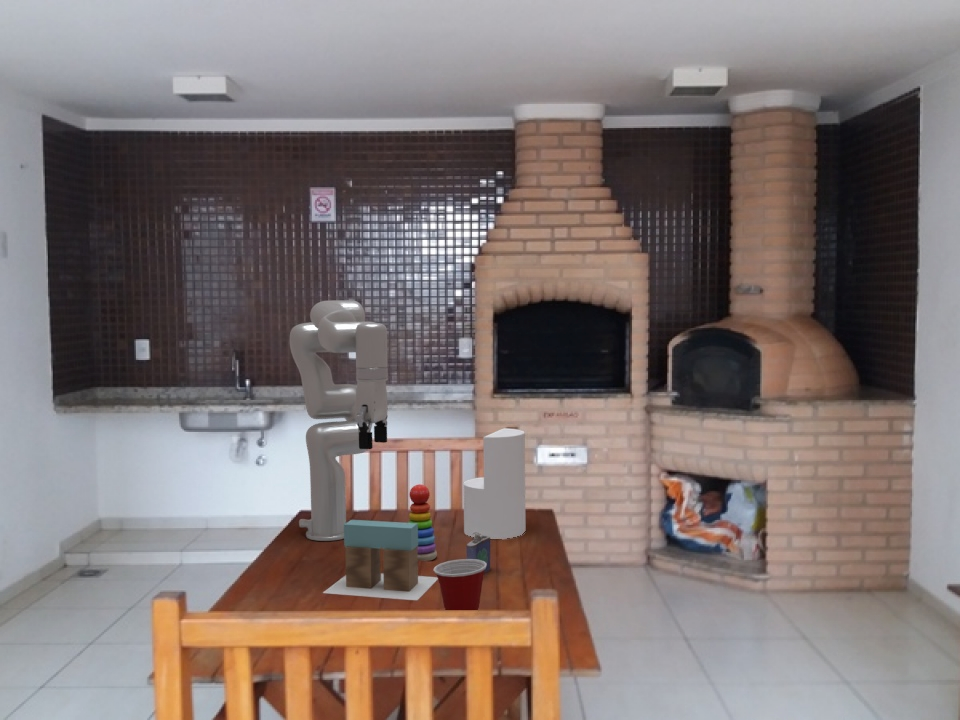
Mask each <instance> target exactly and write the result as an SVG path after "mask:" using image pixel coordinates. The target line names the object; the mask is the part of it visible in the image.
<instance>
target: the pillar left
mask: <svg viewBox="0 0 960 720" xmlns="http://www.w3.org/2000/svg"><path fill="white" fill-rule="evenodd" d="M344 547H345V548H344V549H345V575H346V587H355V588H368V589H371V588H373V587H374V586H375V585H376V584H377V583H378V582H380V581H381V572H382V571H381V566H382V565H381V549H378V548H363V547H347V546H344Z"/></svg>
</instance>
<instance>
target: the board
mask: <svg viewBox="0 0 960 720" xmlns="http://www.w3.org/2000/svg"><path fill="white" fill-rule="evenodd" d="M436 581H438V578H437V576H436V577H435V576H423V575H418V584H417V585H416V586H415V587H414V588H413V589H412V590H411V591H410V592H407V591H394V590H384V573H383V572H382V573H381V581H380V582H378V583H377V584H376V585H375V586H374V587H373V588H371V589H368V588H355V587H346V574H345V575H343V576H342V577H341V578H340V579H339V580H338V581H336V582H335V583H334V584H332V585H331V586H330V587H329V588H327V589H326V590H324V591H323V592H322V594H328V595H330V594H331V595H339V596H340V595H343V596H356V597H365V598H366V597H369V598H380V599H381V598H382V599H394V600H404V601H405V600H406V601H407V600H408V601H419V600H420V598H421V597H422V596H423V595H424V594H425V593H426V592H427V591H428V590H429V589H430V588H431V587H432V586H433V585H434V584H435V583H436Z"/></svg>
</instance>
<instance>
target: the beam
mask: <svg viewBox="0 0 960 720" xmlns="http://www.w3.org/2000/svg"><path fill="white" fill-rule="evenodd" d="M343 546H344V547H363V548H378V549H380V550H381V549H382V550H384V549H394V550H409V551H412V550H413V549H414V548H415V547H417V546H418V523H409V522H398V521H397V522H396V521H381V520H365V519H364V520H363V519H362V520H361V519H350V520H349V521H346V523H345V524H344V539H343Z"/></svg>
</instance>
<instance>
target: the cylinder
mask: <svg viewBox="0 0 960 720" xmlns="http://www.w3.org/2000/svg"><path fill="white" fill-rule="evenodd" d="M482 438H483V439H482V442H483V443H482V444H483V445H482V447H483V455H482V456H483V477H474V478H470V479H467V480H465V481H464V482H463V533H464V534H465V535H466V536H467V535H468V537H470V536H471V537H470V538H473V537H475V534H476V533H475V532H477V533H479V534H481V535H480V536H482V535H483V536H489V537H490V539H502V540H508V539H507V538H510V539H514V538H513V537H516V538H518V537H517V536H519V537H521V536H523V535H524V534H525V533H526V532H525V531H527V530H526V521H527V520H526V434H525V431H524V430H522V429H517V428H505V427H504V428H501V429H499V430H496V431H494V432H492V433H489V434H487V435H485V436H483V437H482ZM524 532H525V533H524ZM473 533H475V534H473ZM523 533H524V534H523ZM522 534H523V535H522ZM520 535H521V536H520Z"/></svg>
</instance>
